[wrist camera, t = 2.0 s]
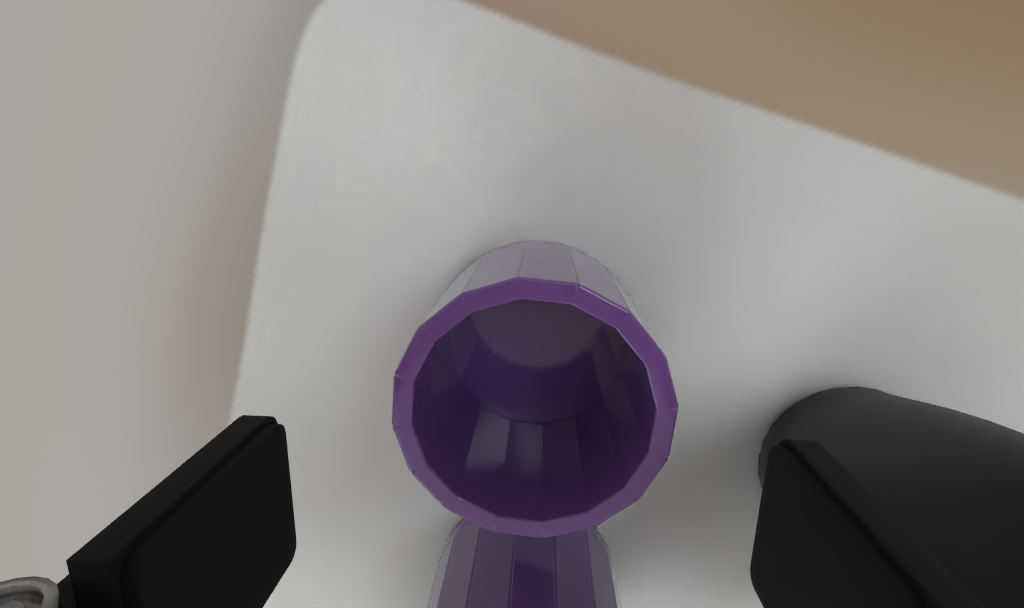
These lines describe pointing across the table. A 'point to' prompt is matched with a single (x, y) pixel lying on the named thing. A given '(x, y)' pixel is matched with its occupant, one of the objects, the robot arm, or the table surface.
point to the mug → (928, 478)
